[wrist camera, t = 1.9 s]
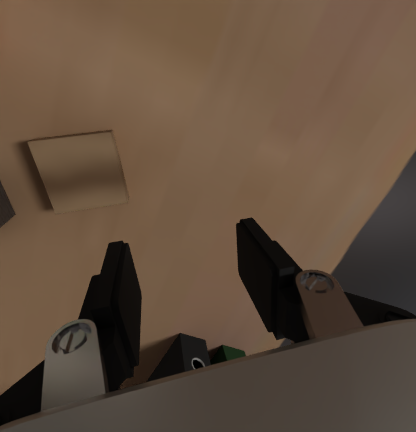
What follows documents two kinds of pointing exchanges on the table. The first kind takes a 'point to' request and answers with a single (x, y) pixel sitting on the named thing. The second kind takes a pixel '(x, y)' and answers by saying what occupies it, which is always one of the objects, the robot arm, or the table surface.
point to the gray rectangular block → (5, 207)
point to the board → (80, 170)
